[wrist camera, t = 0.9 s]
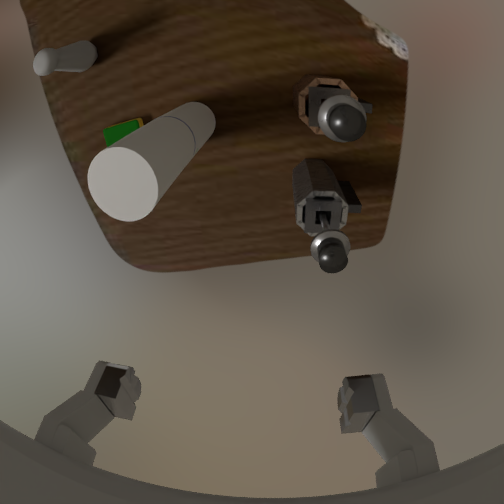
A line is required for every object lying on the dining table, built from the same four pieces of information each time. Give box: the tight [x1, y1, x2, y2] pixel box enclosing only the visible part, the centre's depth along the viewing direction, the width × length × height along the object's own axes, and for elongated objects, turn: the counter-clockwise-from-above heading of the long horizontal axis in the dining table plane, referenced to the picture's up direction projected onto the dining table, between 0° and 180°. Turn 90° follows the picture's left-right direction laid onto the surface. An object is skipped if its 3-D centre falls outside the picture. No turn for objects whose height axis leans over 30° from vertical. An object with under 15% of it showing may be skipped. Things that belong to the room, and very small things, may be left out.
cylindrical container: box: [88, 102, 216, 221], centre depth 33 cm, size 7×7×25 cm
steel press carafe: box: [292, 159, 362, 236], centre depth 41 cm, size 7×9×13 cm
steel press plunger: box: [310, 211, 350, 273], centre depth 34 cm, size 4×4×12 cm
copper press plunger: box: [317, 95, 366, 142], centre depth 26 cm, size 4×4×12 cm
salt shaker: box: [33, 41, 98, 75], centre depth 30 cm, size 6×6×13 cm
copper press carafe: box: [293, 75, 372, 134], centre depth 33 cm, size 7×9×13 cm
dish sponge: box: [103, 118, 144, 147], centre depth 46 cm, size 7×14×2 cm, turn 7°
